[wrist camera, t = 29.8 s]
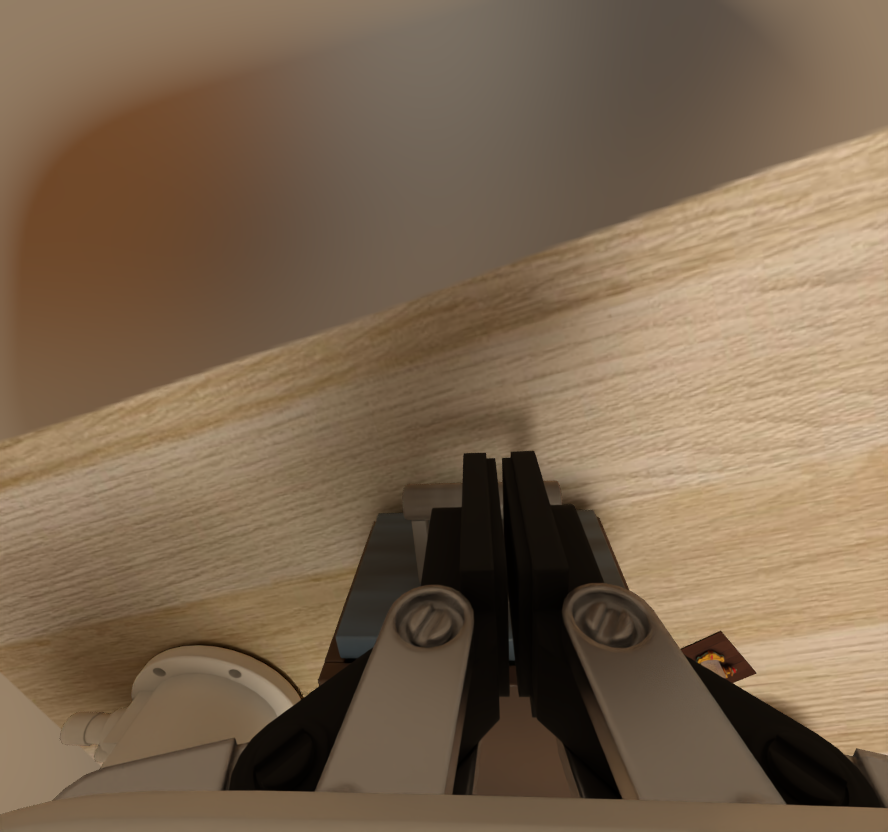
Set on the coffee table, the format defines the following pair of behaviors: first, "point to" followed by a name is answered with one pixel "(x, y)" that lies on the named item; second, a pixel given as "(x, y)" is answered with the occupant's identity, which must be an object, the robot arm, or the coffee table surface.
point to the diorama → (720, 657)
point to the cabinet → (502, 736)
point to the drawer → (402, 559)
